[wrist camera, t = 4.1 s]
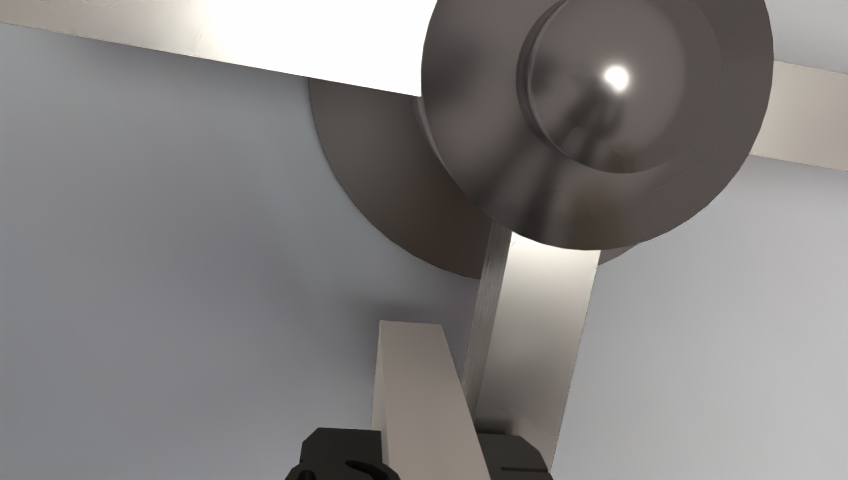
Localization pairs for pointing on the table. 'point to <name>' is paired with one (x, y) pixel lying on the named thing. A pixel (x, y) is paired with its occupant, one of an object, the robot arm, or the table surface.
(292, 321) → the table surface
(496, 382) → the silver cross-shaped piece
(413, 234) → the stand
